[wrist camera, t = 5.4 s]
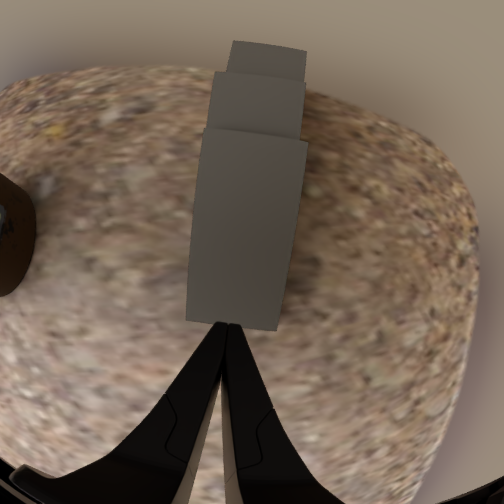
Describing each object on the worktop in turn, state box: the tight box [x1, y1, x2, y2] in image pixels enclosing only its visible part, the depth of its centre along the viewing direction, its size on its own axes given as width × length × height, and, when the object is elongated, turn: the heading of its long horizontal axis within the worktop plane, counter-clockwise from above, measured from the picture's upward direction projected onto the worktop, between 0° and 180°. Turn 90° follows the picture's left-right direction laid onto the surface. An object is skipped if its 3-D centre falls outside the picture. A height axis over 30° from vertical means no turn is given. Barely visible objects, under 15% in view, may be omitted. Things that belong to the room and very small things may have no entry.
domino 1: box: [186, 128, 308, 331], centre depth 14 cm, size 2×5×10 cm
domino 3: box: [226, 41, 307, 82], centre depth 16 cm, size 2×5×10 cm
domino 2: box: [206, 72, 306, 140], centre depth 15 cm, size 2×5×10 cm
